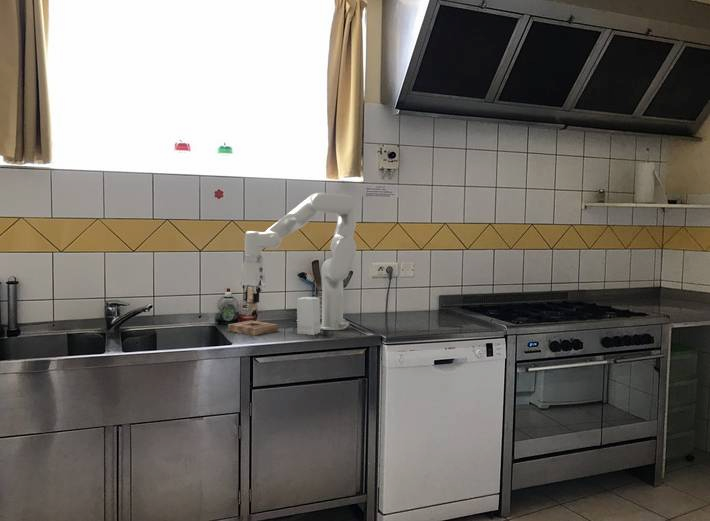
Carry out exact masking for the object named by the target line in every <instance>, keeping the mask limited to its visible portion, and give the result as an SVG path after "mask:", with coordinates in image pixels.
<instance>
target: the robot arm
mask: <svg viewBox="0 0 710 521" xmlns="http://www.w3.org/2000/svg"><path fill="white" fill-rule="evenodd" d="M355 208H356V201H355V198H353V196H351V195H349V194H344V193H343V194H340V193H327V192H315V193H312V194H310V195H309V196H308V197H306V198H305V199H304V200H303V201H302V202H300V203H299V204H298V205H297V206H295V207H294V208H293V209H292V210H290V211H289V212H288V213H286V214H285V215H283V217H282V218H280V219H279V220H278V221H277V222H275V223H274V224H273V225H272V226H270V227H269V228H267V230H265V231H258V230H257V231H255V230H248V231H246V232H245V233H244V261H243V264H242V269H241V281H240V283H239V285H240V286H241V288H242V289H243V292H244V302H245V303H247V294H248V286H254V293H253V303H257V304H258V303H259V302H260V294H261V293H262V290H264V289H265V288H266V285H265V284H266V278H265V277H266V276H265V274H266V273H265V267H264V263H263V261H264V258H263V248H265V249H269V250H270V249H271V250H273V249H274V250H275V249H277V248H278V247H280V246H281V243H282V241H283V239H284V238H285V237H287V236H288V235H290V234H291V233H293V232H296V231H297V230H300V229H301V228H303V227H304V226H305V225H307V224H308V223H309V222H311V220H313V219H314V218H315V217H317V216H318V215H319V214H320V213H326V214H335V216H336V218H337V222H336V226H335V230H334V233H333V237H332V240H331V242H330V249H329V250H330V252H331V253H332V257H330V258H327V259H326V260H324V262H323V263H322V266H321V267H320V268H321V269H320V270H321V271H320V272H321V273H320V274H321V285H322V286H321V291H322V292H321V323H320V330H323V331H343V330H346V329H347V327H349V325H350V321H346V318H345V317H344V280H345V279H347V277H349V274H350V271H351V268H352V265H353V262H354V259H355V256H356V253H357V243H356V242H355V240H354V235H355V230H356V227H357V216H356V214H355V213H356V212H355Z"/></svg>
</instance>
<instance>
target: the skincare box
mask: <svg viewBox="0 0 710 521" xmlns="http://www.w3.org/2000/svg"><path fill="white" fill-rule="evenodd" d="M320 301H321V298H320V297H316V296H302V297H297V298H296V317H297V318H296V323H297V324H296V325H297V326H296V327H297V328H296V329H297V334H298V335H306V334H307V336H315V334H316V335H318V333H319V334H321V329H320V324H321V306H320V305H321V304H320V303H321V302H320Z"/></svg>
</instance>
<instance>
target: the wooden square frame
mask: <svg viewBox="0 0 710 521" xmlns="http://www.w3.org/2000/svg"><path fill="white" fill-rule="evenodd" d="M227 328H228V329H227V332H229V331H232V332H231V333H235V332H237V334H241V333H243V335H247V334H249V335H248V336H253V335H256V336H260V335H259V334H261V335H265V334H264V333H266V334H270V333H269V332H271V333H275V332H274V331H276V332H278V330H279V324H278V323H271V322H264V321H258V320H245V321H242V322H241V321H240V322H236V323H235V322H233V323H230V324H228V325H227Z"/></svg>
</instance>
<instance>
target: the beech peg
mask: <svg viewBox="0 0 710 521" xmlns="http://www.w3.org/2000/svg"><path fill="white" fill-rule="evenodd" d="M253 293H254V286H248V294H247V302H246V306H247V307H246V310H247V311H249V310H250V311H256V310H257V304H258V302H257V303H253Z"/></svg>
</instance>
